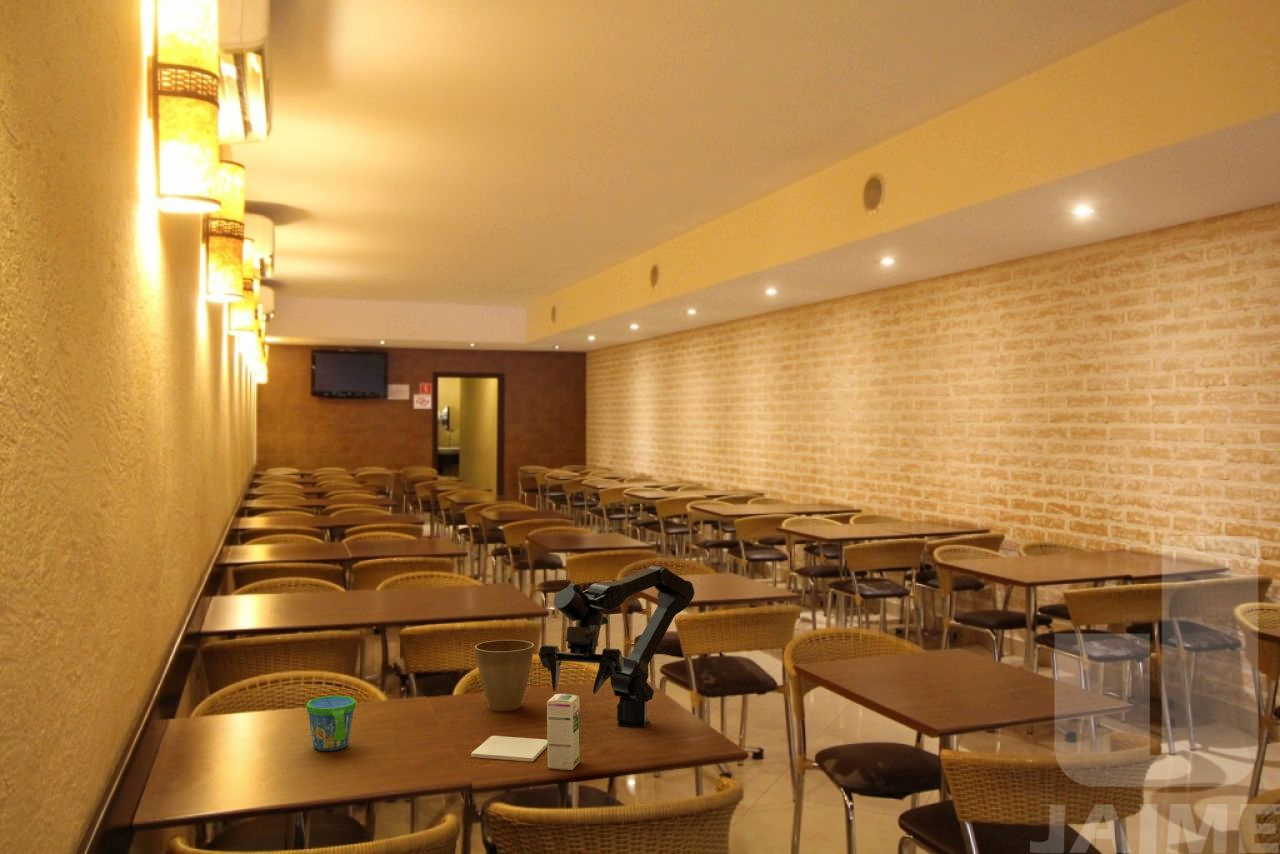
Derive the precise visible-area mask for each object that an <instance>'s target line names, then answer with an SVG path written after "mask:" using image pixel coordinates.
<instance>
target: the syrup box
mask: <svg viewBox="0 0 1280 854" xmlns="http://www.w3.org/2000/svg"><path fill="white" fill-rule="evenodd" d="M580 711H581V709H580V695H577V694H572V693H555V694H554V695H553V696H552V697H550V698H549V699H548V700H547V701H546V728H547V729H546V733H547V734H546V736H547V737H546V740H547V747H546V749H547V752H546V754H547V769H554V770H566V771H567V770H570V771H573V770H574V768H575V767H576V766H577V765H578V764H579V763H580V762H581V741H580V739H581V729H580V726H581V721H580V720H581V719H580V717H581V716H580Z"/></svg>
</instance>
